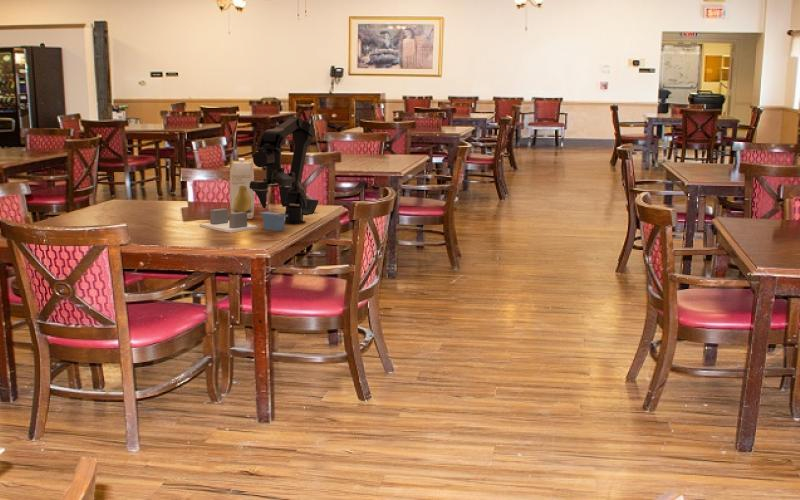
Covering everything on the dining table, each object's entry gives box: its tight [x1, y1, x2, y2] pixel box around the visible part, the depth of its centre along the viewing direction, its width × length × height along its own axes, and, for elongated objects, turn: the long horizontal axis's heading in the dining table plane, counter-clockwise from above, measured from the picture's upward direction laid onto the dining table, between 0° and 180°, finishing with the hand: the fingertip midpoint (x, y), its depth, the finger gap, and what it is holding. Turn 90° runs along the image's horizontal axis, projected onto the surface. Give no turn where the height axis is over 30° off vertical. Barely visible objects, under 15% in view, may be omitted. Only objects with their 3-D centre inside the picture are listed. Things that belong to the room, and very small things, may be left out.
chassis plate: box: [199, 207, 259, 234], centre depth 330 cm, size 13×18×6 cm
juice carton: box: [228, 157, 255, 220], centre depth 351 cm, size 9×8×24 cm
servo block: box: [259, 211, 288, 232], centre depth 329 cm, size 4×11×6 cm, turn 49°
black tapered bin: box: [299, 198, 319, 216], centre depth 369 cm, size 12×7×10 cm
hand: (273, 206), depth 328 cm, fingers open, 9 cm apart
